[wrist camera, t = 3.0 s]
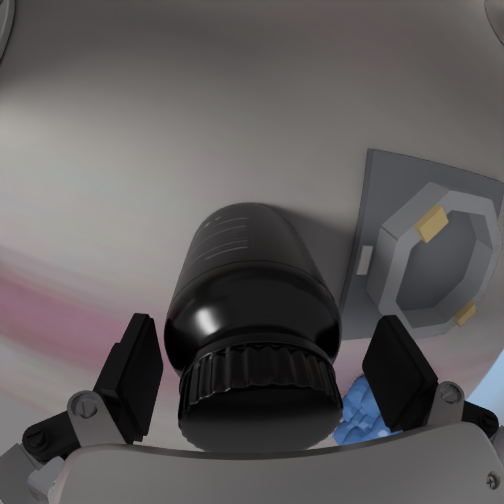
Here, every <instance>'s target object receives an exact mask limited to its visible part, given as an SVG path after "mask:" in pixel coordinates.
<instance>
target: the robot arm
mask: <svg viewBox="0 0 504 504" xmlns="http://www.w3.org/2000/svg"><path fill="white" fill-rule="evenodd" d="M14 7H15V2H14V0H0V59H1V57H2V54H3V52H4V49H5V46H6V43H7V40H8V37H9V34H10V30H11V27H12V22H13V16H14ZM362 369H363V372H364V374H365V377H366V379H367V381H368V384H369V386H370V388H371V391H372V393H373V396H374V398H375V401H376V403H377V406H378V408H379V411H380V413H381V416H382V418H383V421H384V424H385V426H386V427H389V429H390V432H391V433H394V432H397V431H401V430H402V431H403V432H401V433H397V434H393V435H389V436H385V437H381V438H376V439H372V440H367V441H362V442H357V443H352V444H346V445H340V446H333V447H327V448H319V449H310V450H301V451H289V452H272V453H216V452H199V451H186V450H176V449H167V448H159V447H151V446H142V445H134V444H133V442H134V441H138V442H142V439H143V436H147V434H148V431H149V426H150V422H151V418H152V413H153V409H154V405H155V401H156V397H157V393H158V389H159V385H160V381H161V377H162V373H163V361H162V357H161V352H160V348H159V343H158V338H157V333H156V328H155V323H154V319H153V318H150V317H149V315H148V314H141V313H135V314H134V315H133V317H132V319H131V321H130V323H129V325H128V327H127V329H126V331H125V333H124V335H123V337H122V339H121V342H120V343H115V344H114V346H113V347H112V349H111V352H110V354H109V356H108V358H107V360H106V362H105V364H104V367H103V369H102V371H101V373H100V375H99V378H98V380H97V382H96V384H95V387H94V389H93V391H89V390H84V391H79V392H77V393H75V394H74V395H73V396H72V397H71V398H70V399H69V401H68V404H67V411H65V412H62V413H60V414H58V415H56V416H53V417H51V418H49V419H46V420H44V421H42V422H39V423H37V424H34V425H32V426H31V427H29V428H27V430H26V431H25V432H24V434H23V439H22V442H23V443H21V444H20V445H19V444H18V443H16V444H15V445H14V446H13V447H12V448H10V449H9V450H8V451H7V452H6V453H4V454H3V455H2V456H1V457H0V499H1V500H2V502H3V503H4V504H504V426H502V425H501V426H500V427H499V422H498V418H497V417H496V415H495V414H494V413H493V412H491V411H489V410H487V409H485V408H482V407H479V406H477V405H474V404H472V403H470V402H467V401H465V400H464V399H465V398H464V392H463V390H462V389H461V387H460V386H458V385H457V384H456V383H454V382H450V381H444V382H442V383H440V384H439V383H438V382H437V380H438V377H437V376H436V374H435V373H434V371H433V369H432V368H431V366H430V365H429V363H428V361H427V360H426V358H425V357H424V355H423V354H422V352H421V350H420V349H419V347H418V346H417V344H416V343H415V341H414V340H413V338H412V337H411V335H410V334H409V332H408V331H407V329H406V328H405V327H404V325H403V324H402V322H401V321H400V319H399V318H398V316H397V315H384V316H383V317H382V318H381V319H379V320H378V323H377V326H376V329H375V331H374V334H373V337H372V339H371V342H370V345H369V347H368V350H367V353H366V355H365V358H364V360H363V363H362ZM55 480H56V482H55V483H54V481H55ZM53 485H54V487H53V490H52V494H51V497H50V501H48V498H47V494H48V491H49V489H50V488H51V487H52V486H53Z"/></svg>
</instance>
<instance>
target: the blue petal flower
mask: <svg viewBox="0 0 504 504" xmlns="http://www.w3.org/2000/svg"><path fill="white" fill-rule="evenodd" d="M342 401H343V408H344V409H343V417H342V419H344V421H343V422H341V423H340V424H339V426H338V427H337V429H336V430H335V432H334V434H333V436H332V437H333V438H334V439H335V441H336V442H337V443H338V444H339V445H346V444H352V443H357V442H362V441H367V440H372V439H376V438H381V437H385V436H389V435H393V434H397V433H401V432H402V430H401V431H397V432H394V433H391V432H390V429H389V427H386V426H385V424H384V421H383V418H382V416H381V413H380V411H379V408H378V406H377V403H376V401H375V398H374V396H373V393H372V391H371V388H370V386H369V384H368V381H367V379H366V377H359V378H358V379H357V380H355V381H354V383H353V384H352V386H351V388H350V389H349V391H348V394H347V395H346V396H344V398H343V399H342Z"/></svg>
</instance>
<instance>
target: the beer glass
mask: <svg viewBox="0 0 504 504" xmlns="http://www.w3.org/2000/svg"><path fill="white" fill-rule="evenodd" d="M485 9H486V13H487V16H488V18H489V21H490V23H491V25H492V27H493V29H494V31H495V33H496V34H497V36H498V38H499V39H500V40H501V42H502V43H503V44H504V0H485Z"/></svg>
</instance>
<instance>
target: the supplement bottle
mask: <svg viewBox="0 0 504 504" xmlns="http://www.w3.org/2000/svg"><path fill="white" fill-rule="evenodd" d="M341 340H342V321H341V317H340V313H339V310H338V308H337V305H336V303H335V300H334V298H333V297H332V295H331V293H330V291H329V289H328V287H327V285H326V283H325V281H324V280H323V278H322V276H321V274H320V272H319V270H318V268H317V267H316V265H315V263H314V261H313V259H312V258H311V256H310V254H309V252H308V250H307V249H306V247H305V245H304V243H303V241H302V240H301V238H300V236H299V234H298V233H297V231H296V230H295V228H294V227H293V225H292V224H291V223H290V222H289V221H288V220H287V219H286V218H285V217H284V216H283V215H282V214H280V213H279V212H277V211H276V210H274V209H272V208H270V207H267V206H264V205H260V204H255V203H239V204H233V205H230V206H226V207H224V208H221V209H219V210H218V211H216V212H214V213H213V214H211V215H210V216H209V217H208V218H207V219H206V220H205V221H204V222H203V223H202V224H201V225H200V227H199V228H198V230H197V231H196V233H195V235H194V237H193V240H192V242H191V245H190V247H189V250H188V253H187V256H186V259H185V261H184V264H183V267H182V270H181V273H180V276H179V279H178V282H177V285H176V288H175V291H174V294H173V297H172V300H171V303H170V307H169V310H168V313H167V317H166V322H165V327H164V345H165V350H166V353H167V356H168V359H169V361H170V363H171V365H172V367H173V369H174V370H175V372H176V373H177V375H178V376H179V377H180V378H181V379H180V384H179V393H180V403H179V410H178V425H179V428H180V430H181V431H182V435H183V436H184V437H186V438H187V441H188V442H190V443H192V444H194V445H195V447H197V448H200V449H202V450H204V451H205V452H216V453H272V452H289V451H301V450H306V449H308V448H309V447H311V446H314V445H316V444H318V443H319V442H320V441H322V440H324V439H326V438H327V437H328V435H329V434H331V433H332V432H334V430H335V428H336V427H337V426H338V425H339V424H340V419H341V418H342V417H343V409H344V408H343V401H342V398H341V395H340V393H339V390H338V387H337V384H336V376H335V371H334V368H333V366H332V365H333V363H334V361H335V359H336V357H337V355H338V352H339V349H340V345H341Z"/></svg>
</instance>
